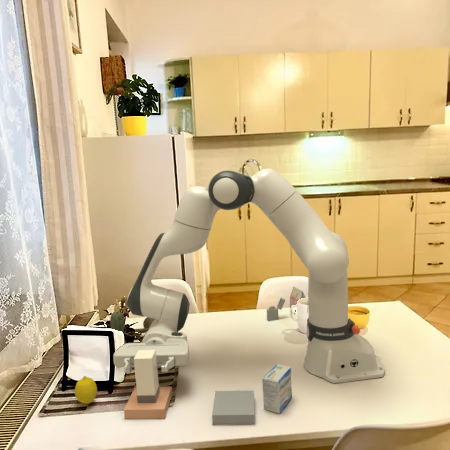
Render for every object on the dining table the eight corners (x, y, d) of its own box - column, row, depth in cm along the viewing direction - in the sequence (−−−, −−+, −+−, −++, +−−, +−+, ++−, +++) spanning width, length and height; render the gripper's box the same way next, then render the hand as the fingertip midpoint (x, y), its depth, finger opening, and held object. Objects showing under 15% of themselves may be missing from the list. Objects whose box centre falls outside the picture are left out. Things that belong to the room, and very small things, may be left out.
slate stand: (254, 399, 108) (253, 390, 107) (254, 424, 98) (254, 414, 98) (215, 399, 108) (215, 390, 108) (212, 424, 99) (212, 415, 98)
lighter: (268, 321, 156) (267, 301, 154) (266, 319, 157) (266, 299, 156) (286, 318, 157) (285, 298, 156) (284, 316, 159) (283, 297, 158)
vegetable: (124, 363, 130) (118, 303, 126) (111, 363, 130) (105, 302, 127) (130, 357, 134) (124, 298, 130) (118, 356, 135) (111, 297, 131)
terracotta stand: (172, 394, 112) (171, 386, 111) (164, 418, 102) (164, 409, 101) (135, 395, 112) (135, 386, 112) (124, 418, 103) (124, 409, 102)
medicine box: (279, 414, 101) (278, 382, 99) (263, 409, 103) (261, 377, 102) (292, 397, 108) (291, 367, 106) (276, 393, 110) (275, 363, 108)
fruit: (74, 402, 111) (71, 374, 109) (96, 395, 113) (92, 368, 112) (78, 412, 106) (75, 384, 105) (100, 405, 109) (97, 377, 107)
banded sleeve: (159, 392, 109) (156, 349, 107) (155, 402, 104) (151, 358, 102) (142, 392, 109) (138, 349, 107) (137, 403, 105) (133, 359, 102)
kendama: (114, 338, 149) (168, 326, 156) (117, 351, 140) (174, 337, 147) (112, 323, 148) (167, 311, 154) (114, 334, 139) (173, 321, 146)
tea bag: (298, 309, 165) (297, 285, 164) (307, 315, 159) (307, 290, 157) (290, 311, 164) (289, 287, 162) (299, 317, 158) (298, 292, 156)
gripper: (120, 335, 118) (104, 359, 105) (191, 333, 117) (184, 357, 103) (122, 355, 119) (106, 382, 106) (193, 354, 118) (186, 380, 105)
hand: (145, 370), depth 105 cm, fingers open, 8 cm apart
